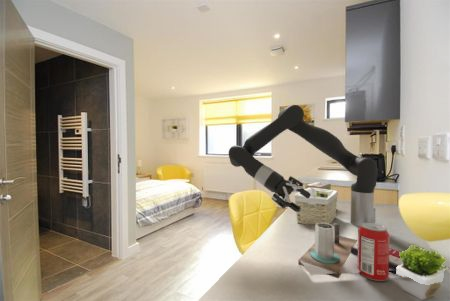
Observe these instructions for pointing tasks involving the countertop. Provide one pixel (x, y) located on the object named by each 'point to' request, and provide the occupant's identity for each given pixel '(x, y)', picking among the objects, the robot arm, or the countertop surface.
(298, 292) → the countertop surface
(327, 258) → the sleeve
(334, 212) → the storage basket
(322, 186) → the tea box
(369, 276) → the soda can
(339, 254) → the jig board
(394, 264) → the calculator
